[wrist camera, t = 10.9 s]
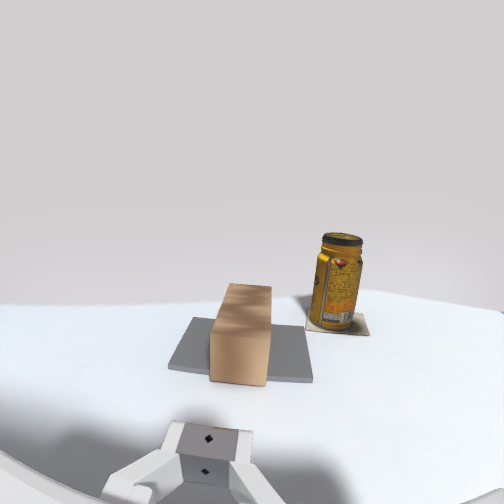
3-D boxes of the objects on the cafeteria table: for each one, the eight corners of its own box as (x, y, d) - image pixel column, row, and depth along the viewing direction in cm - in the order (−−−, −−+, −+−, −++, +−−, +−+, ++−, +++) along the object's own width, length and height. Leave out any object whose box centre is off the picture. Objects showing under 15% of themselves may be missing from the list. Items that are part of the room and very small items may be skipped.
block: (210, 333, 25) (230, 282, 38) (210, 380, 26) (228, 319, 39) (270, 339, 25) (271, 285, 38) (265, 386, 26) (268, 322, 39)
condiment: (307, 308, 45) (317, 228, 42) (362, 314, 44) (376, 235, 41) (305, 331, 38) (317, 238, 35) (369, 337, 37) (388, 246, 34)
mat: (168, 369, 28) (167, 364, 28) (193, 321, 39) (193, 316, 39) (312, 382, 28) (313, 378, 27) (303, 330, 38) (303, 326, 38)
